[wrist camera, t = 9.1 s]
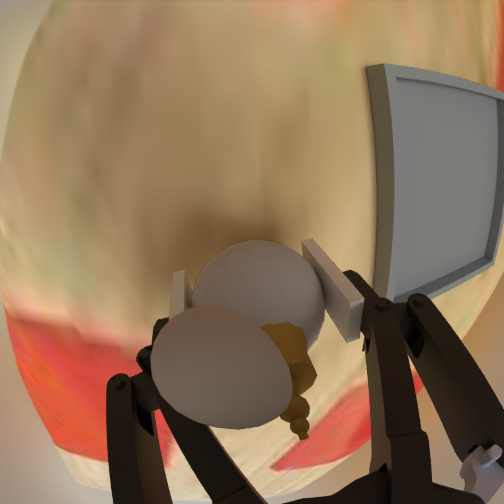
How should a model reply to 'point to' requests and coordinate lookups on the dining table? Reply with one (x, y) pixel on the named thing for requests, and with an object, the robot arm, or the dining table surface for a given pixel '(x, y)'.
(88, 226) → the dining table surface
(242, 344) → the perfume bottle
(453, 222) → the tray
